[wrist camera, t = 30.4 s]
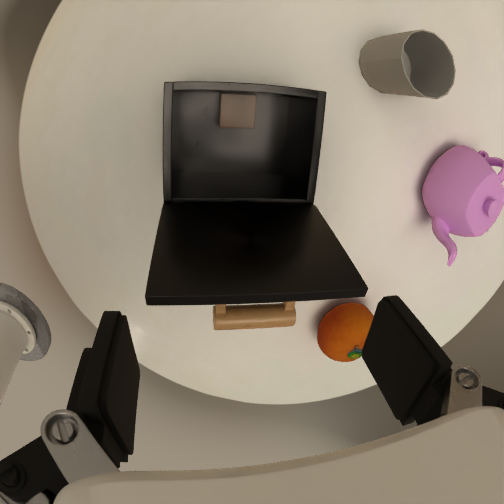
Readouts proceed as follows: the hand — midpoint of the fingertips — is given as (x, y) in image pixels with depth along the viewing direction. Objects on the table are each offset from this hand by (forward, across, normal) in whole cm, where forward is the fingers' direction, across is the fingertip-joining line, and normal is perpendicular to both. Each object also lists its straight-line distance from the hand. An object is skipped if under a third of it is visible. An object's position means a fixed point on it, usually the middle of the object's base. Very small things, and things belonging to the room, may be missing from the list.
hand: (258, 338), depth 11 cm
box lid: (+14, -2, +3) cm, 14 cm away
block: (+30, -2, -7) cm, 31 cm away
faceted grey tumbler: (+31, -22, -16) cm, 41 cm away
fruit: (+31, -22, +26) cm, 46 cm away
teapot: (+31, -37, +2) cm, 48 cm away
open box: (+31, -2, -4) cm, 31 cm away
